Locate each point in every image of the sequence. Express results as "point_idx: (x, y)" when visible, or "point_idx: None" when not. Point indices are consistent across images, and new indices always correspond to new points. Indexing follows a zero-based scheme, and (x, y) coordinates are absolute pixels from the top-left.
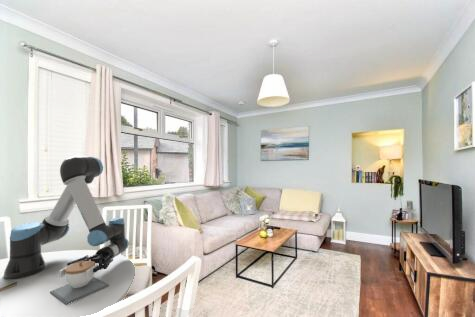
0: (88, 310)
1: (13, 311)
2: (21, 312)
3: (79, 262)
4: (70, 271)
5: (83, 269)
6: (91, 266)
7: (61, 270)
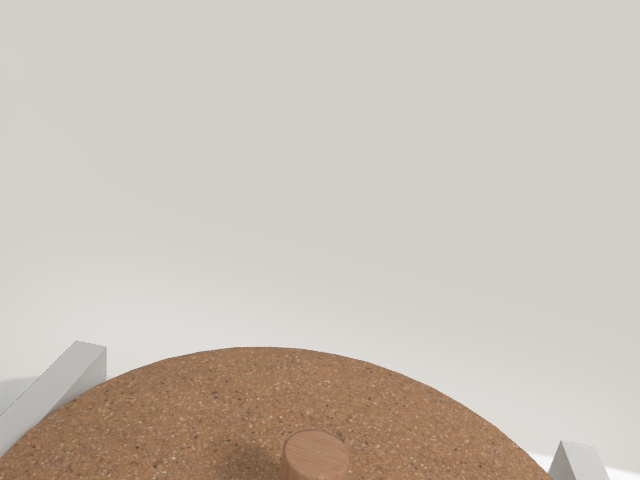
0: (32, 377)
1: (614, 477)
2: (534, 454)
3: (333, 437)
4: (347, 358)
5: (156, 365)
6: (16, 443)
7: (564, 447)
